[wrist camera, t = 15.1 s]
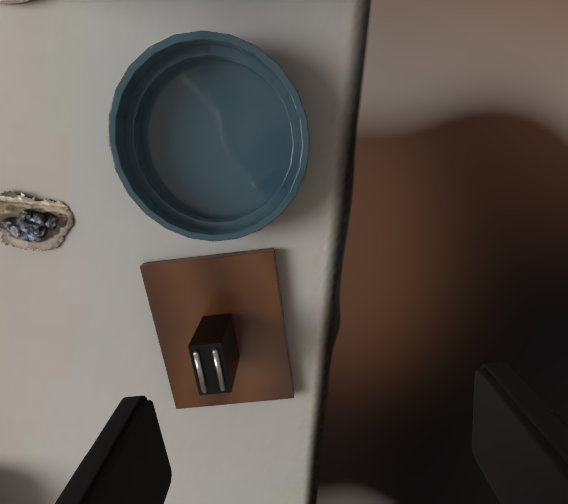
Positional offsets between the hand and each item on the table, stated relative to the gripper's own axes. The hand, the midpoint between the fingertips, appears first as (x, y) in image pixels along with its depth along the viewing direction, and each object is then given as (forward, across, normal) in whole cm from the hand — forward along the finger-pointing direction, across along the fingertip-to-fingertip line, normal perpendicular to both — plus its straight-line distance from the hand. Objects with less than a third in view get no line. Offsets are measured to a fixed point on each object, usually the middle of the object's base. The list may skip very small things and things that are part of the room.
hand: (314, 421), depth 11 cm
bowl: (+28, +7, -8) cm, 30 cm away
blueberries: (+28, +27, -3) cm, 39 cm away
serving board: (+28, +10, +12) cm, 32 cm away
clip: (+27, +10, +12) cm, 31 cm away
